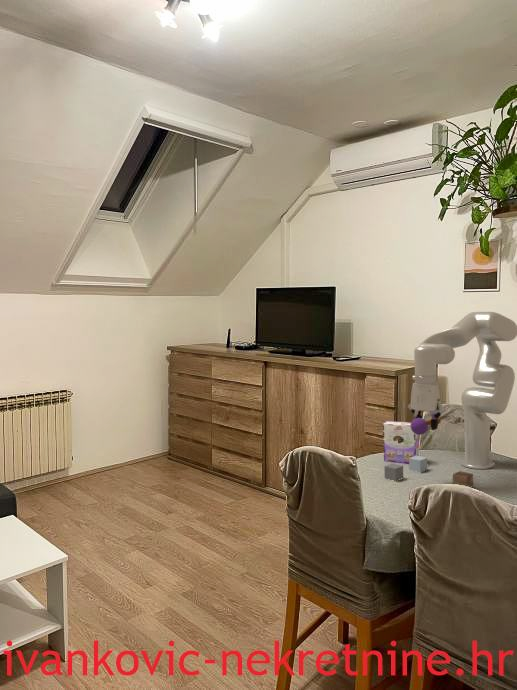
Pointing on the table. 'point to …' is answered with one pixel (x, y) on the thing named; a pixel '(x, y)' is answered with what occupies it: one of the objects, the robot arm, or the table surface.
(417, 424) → the kendama
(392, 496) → the table surface
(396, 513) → the table surface
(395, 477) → the charcoal block
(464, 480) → the walnut block
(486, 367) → the robot arm
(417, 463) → the dusty blue block
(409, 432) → the candy box
